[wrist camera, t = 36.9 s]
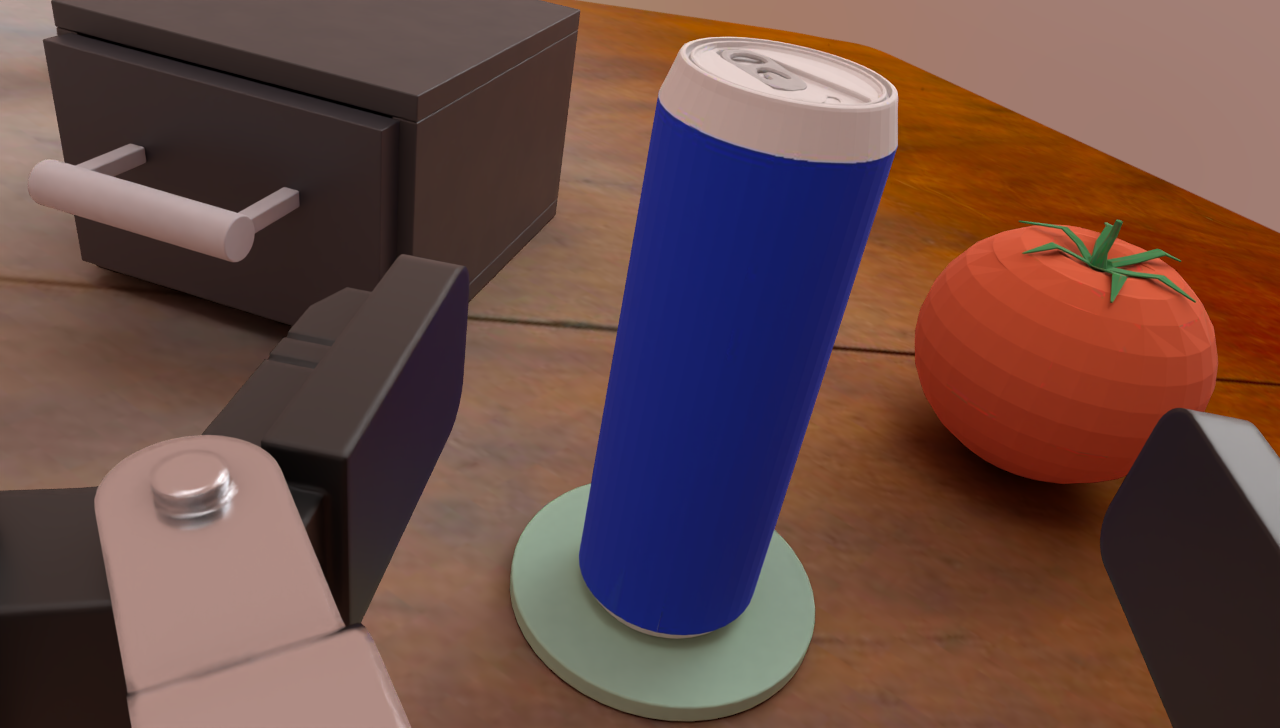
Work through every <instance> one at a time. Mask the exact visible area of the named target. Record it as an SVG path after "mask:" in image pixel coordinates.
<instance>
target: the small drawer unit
mask: <svg viewBox="0 0 1280 728" xmlns="http://www.w3.org/2000/svg"><path fill="white" fill-rule="evenodd" d="M51 3H52V9H53V15H54V21H55V25H56V27H57V35H58V36H59V35H63V34H67V33H73V34H76V35H80V36H84V37H88V38H91V39H95V40H99V41H103V42H106V43H110V44H114V45H118V46H121V47H123V46H122V44H124V45H128V46H132V47H135V48H139V49H143V50H147V51H150V52H154V53H158V54H162V55H165V56H169V57H173V58H177V59H180V60H184V61H188V62H192V63H196V64H199V65H203V66H207V67H211V68H214V69H218V70H222V71H226V72H229V73H233V74H237V75H241V76H244V77H248V78H252V79H256V80H259V81H263V82H267V83H271V84H274V85H278V86H282V87H286V88H289V89H293V90H297V91H301V92H305V93H308V94H312V95H316V96H320V97H323V98H327V99H331V100H335V101H338V102H342V103H346V104H350V105H353V106H357V107H361V108H365V109H368V110H372V111H376V112H380V113H383V114H387V115H391V116H393V119H395V120H399V161H398V205H397V249H396V259H397V258H398V257H399V256H400V255H402V254H405V255H410V256H415V257H420V258H426V259H431V260H436V261H441V262H446V263H451V264H456V265H461V266H466V267H467V269H468V272H469V301H470V300H471V299H472V298H473V297H474V296H475V295H476V294H477V293H478V292H479V291H480V290H481V289H482V288H483V287H484V286H485V285H486V284H487V283H488V282H489V281H490V280H491V279H492V278H493V277H494V276H495V275H496V274H497V273H498V272H499V271H500V270H501V269H502V268H503V267H504V266H505V265H506V264H507V263H508V262H509V261H510V260H511V259H512V258H513V257H514V256H515V255H516V254H517V253H518V252H519V251H520V250H521V249H522V248H523V247H524V246H525V245H526V244H527V243H528V242H529V241H530V240H531V239H532V238H533V237H534V236H535V235H536V234H537V233H538V232H539V231H540V230H541V229H542V228H543V227H544V226H545V225H546V224H547V223H548V222H549V220H550V219H551V218H552V217H553V216H554V215H555V214H556V206H557V198H558V189H559V181H560V173H561V165H562V157H563V148H564V140H565V132H566V124H567V115H568V107H569V99H570V91H571V83H572V74H573V66H574V58H575V50H576V41H577V33H578V25H579V17H580V10H578V9H574V8H570V7H566V6H562V5H557V4H553V3H549V2H545V1H541V0H52V1H51ZM97 266H99V265H97ZM99 267H102V266H99ZM103 268H106V267H103ZM106 269H109V268H106ZM109 270H112V269H109ZM112 271H115V270H112ZM116 272H119V271H116ZM119 273H122V272H119ZM122 274H125V273H122ZM125 275H128V274H125ZM129 276H132V275H129ZM132 277H135V276H132ZM135 278H138V277H135ZM138 279H141V278H138ZM141 280H145V279H141ZM145 281H148V280H145ZM148 282H151V281H148ZM151 283H154V282H151ZM154 284H158V283H154ZM158 285H161V284H158ZM161 286H164V285H161ZM164 287H167V286H164ZM167 288H170V287H167ZM171 289H174V288H171ZM174 290H177V289H174ZM177 291H180V290H177ZM180 292H183V291H180ZM184 293H187V292H184ZM187 294H190V293H187ZM190 295H193V294H190ZM193 296H196V295H193ZM197 297H200V296H197ZM200 298H203V297H200ZM203 299H206V298H203ZM206 300H209V299H206ZM209 301H213V300H209ZM469 301H468V302H469ZM213 302H216V301H213ZM216 303H219V302H216ZM219 304H222V303H219ZM222 305H226V304H222ZM226 306H229V305H226ZM229 307H232V306H229ZM232 308H235V307H232ZM235 309H238V308H235ZM239 310H242V309H239ZM242 311H245V310H242ZM245 312H248V311H245ZM248 313H251V312H248ZM252 314H255V313H252ZM255 315H258V314H255ZM258 316H261V315H258ZM261 317H264V316H261ZM264 318H268V317H264ZM268 319H271V318H268ZM271 320H274V319H271ZM274 321H277V320H274ZM277 322H281V321H277ZM281 323H284V322H281ZM284 324H287V323H284ZM287 325H290V324H287ZM290 326H294V325H290Z"/></svg>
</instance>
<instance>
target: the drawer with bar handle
mask: <svg viewBox="0 0 1280 728" xmlns="http://www.w3.org/2000/svg"><path fill="white" fill-rule="evenodd" d="M43 43H44V49H45V55H46V60H47V66H48V71H49V77H50V83H51V88H52V94H53V99H54V105H55V110H56V116H57V122H58V127H59V133H60V138H61V144H62V150H63V155H64V161H65V163H64V162H61V161H57V160H54V159H46V160H43V161H40V162H39V163H38V164H36V165H35V166H34V168H33V169H32V171H31V173H30V175H29V179H28V190H29V193H30V196H31V197H32V199H33V200H34V201H35V202H37V203H38V204H40V205H44V206H47V207H50V208H54V209H57V210H60V211H64V212H67V213H70V214H74V217H75V222H76V228H77V233H78V239H79V244H80V250H81V256H82V260H83V261H86V262H89V263H93V264H96V265H99V266H102V267H106V268H109V269H112V270H115V271H119V272H122V273H125V274H128V275H132V276H135V277H138V278H141V279H145V280H148V281H151V282H154V283H158V284H161V285H164V286H167V287H170V288H174V289H177V290H180V291H183V292H187V293H190V294H193V295H196V296H200V297H203V298H206V299H209V300H213V301H216V302H219V303H222V304H226V305H229V306H232V307H235V308H238V309H242V310H245V311H248V312H251V313H255V314H258V315H261V316H264V317H268V318H271V319H274V320H277V321H281V322H284V323H287V324H290V325H294V324H295V323H296V322H297V321H298V320H299V318H300V317H301V316H302V315H303V314H304V312H305V311H306V310H307V309H308V308H309V307H310V306H311V305H313V304H315V303H317V302H319V301H321V300H323V299H325V298H327V297H329V296H331V295H333V294H335V293H337V292H338V291H340V290H342V289H344V288H346V287H349V288H354V289H359V290H364V291H369V292H372V291H373V290H374V288H375V287H376V286H377V284H378V283H379V282H380V280H381V279H382V278H383V276H384V275H385V274H386V272H387V271H388V270H389V268H390V267H391V266H392V264H393V263H394V262H395V260H396V249H397V205H398V161H399V120H395V119H393V116H391V115H387V114H383V113H380V112H376V111H372V110H368V109H365V108H361V107H357V106H353V105H350V104H346V103H342V102H338V101H335V100H331V99H327V98H323V97H320V96H316V95H312V94H308V93H305V92H301V91H297V90H293V89H289V88H286V87H282V86H278V85H274V84H271V83H267V82H263V81H259V80H256V79H252V78H248V77H244V76H241V75H237V74H233V73H229V72H226V71H222V70H218V69H214V68H211V67H207V66H203V65H199V64H196V63H192V62H188V61H184V60H180V59H177V58H173V57H169V56H165V55H162V54H158V53H154V52H150V51H147V50H143V49H139V48H135V47H132V46H128V45H124V44H122V46H123V47H121V46H118V45H114V44H110V43H106V42H103V41H99V40H95V39H91V38H88V37H84V36H80V35H76V34H73V33H67V34H63V35H59V36H55V37H51V38H47V39H43Z"/></svg>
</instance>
